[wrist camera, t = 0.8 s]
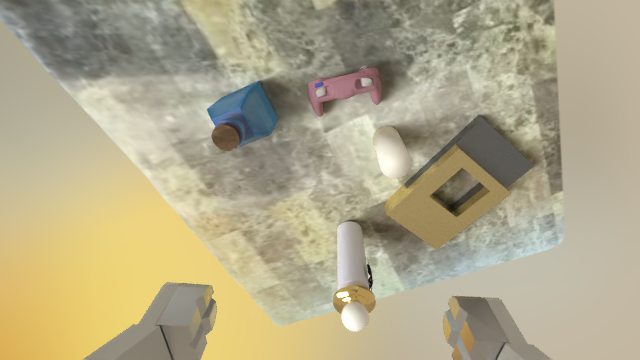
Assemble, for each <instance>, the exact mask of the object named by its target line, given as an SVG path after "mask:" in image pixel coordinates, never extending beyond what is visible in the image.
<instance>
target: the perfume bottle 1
mask: <svg viewBox="0 0 640 360" xmlns="http://www.w3.org/2000/svg"><path fill="white" fill-rule="evenodd" d="M207 111H208V113H209V115H210V117H211V120H212V121H213V123H214V125H215V126H216V127H215V129H214V130H213V132H212V140H213V142H214V144H215V145H216V146H217V147H218V148H220V149H222V150H224V151H231V150H233V149H236V148H238V147H241V146H243V145H246V144H248V143H250V142H253V141H255V140H258V139H260V138H263V137H265V136H268V135H270V134H271V133H272V131H273V129H274V127H275V125H276V123H277V122H278V118H277V116H276V114H275V112H274V110H273V108H272V106H271V104H270V102H269V100H268V98H267V96H266V94H265V92H264V90H263V88H262V86H261V84H260V82H259V81H257V82H255V83H253V84H251V85H248V86H246V87H244V88H242V89H240V90H237V91H235V92H233V93H231V94H229V95H226V96H224V97H222V98H221V99H220V100H218V101H217V102H216V103H214V104H213V105H212V106H210V107H209V108H208V109H207Z"/></svg>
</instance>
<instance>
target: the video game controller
mask: <svg viewBox="0 0 640 360" xmlns="http://www.w3.org/2000/svg"><path fill="white" fill-rule="evenodd" d="M381 88H382V86H381V80H380V76H379V71H378V69H377V68H369V66H362V67H361V68H360V71H357V72H355V73H352V74H347V75H342V76H338V77H334V78H321V79H316V80H313V81H311V82H309V83H308V90H309V99H310V102H311V104H312V106H313V109H314V111H315V113H316V115H317V116H319V117H321V116H322V115H323V101H328V100H332V99H347V98H350V97H352V96H354V95H356V94H360V93H365V92H369V91H370V94H371V97H372V101H373V102H374V103H375V104H376V105H378V104H379V103H380V101H381Z"/></svg>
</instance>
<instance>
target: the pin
mask: <svg viewBox="0 0 640 360" xmlns="http://www.w3.org/2000/svg"><path fill="white" fill-rule="evenodd" d="M373 143H374V147H375V150H376V153H377V157H378V160H379V164H380V167H381V170H382V172H383V173H384V174H385V175H386V176H388V177H390V178H400V177H402V176H404V175H406V174H407V173H408V172H409V171H410V169H411V167H412V159H411V157H410V155H409V153H408V151H407V149H406V147H405V145H404V143H403V141H402V139H401V137H400V135H399V133H398V132H397V130H396V129H395V128H393V127H390V126H384V127H381V128H379V129H378V130H377V131H376V132H375V133H374V136H373Z"/></svg>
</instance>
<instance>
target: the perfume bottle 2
mask: <svg viewBox="0 0 640 360" xmlns="http://www.w3.org/2000/svg"><path fill="white" fill-rule="evenodd" d="M368 263H369V262H368ZM367 268H368V273H369V275H370V278H369V279H368V274H367ZM370 269H371V268H370V265H368V264H367V265H366V257H365V249H364V241H363V233H362V228H361V226H360V225H359V224H357V223H355V222H351V221H348V222H344V223H342V224H341V225H340V226H339V227H338V229H337V270H338V291H337V292H336V293H335V295H334V298H333V305H334V307H335V309H336V310H337V311H338V312H339V313H341V317H342V322H343V324H344V325H345V327H346V328H347V329H348V330H350V331H353V332H359V331H361V330H363V329H364V328H365V327H366V326H367V324H368V322H369V313H370V312H371V311H372V310H373V309H374V307H375V302H376V301H375V296H374V294H373V293H372V292H371V291H370V288H371V287H372V284H373V280H372V273H371V270H370ZM369 283H370V284H369ZM370 285H371V286H370ZM371 290H372V288H371Z"/></svg>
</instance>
